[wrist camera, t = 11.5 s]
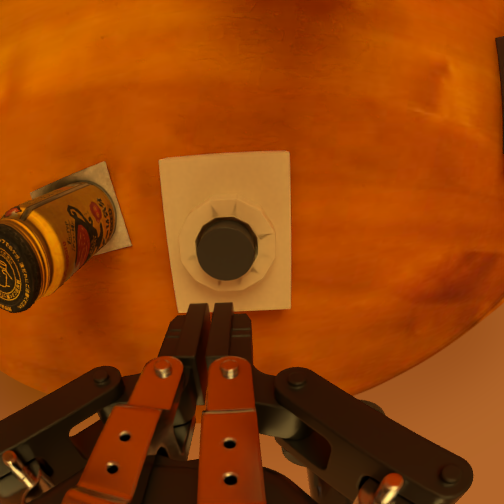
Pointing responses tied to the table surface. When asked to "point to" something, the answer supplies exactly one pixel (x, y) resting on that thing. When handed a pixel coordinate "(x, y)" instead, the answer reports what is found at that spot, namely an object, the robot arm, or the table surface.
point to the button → (226, 250)
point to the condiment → (57, 235)
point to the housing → (235, 209)
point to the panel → (501, 71)
